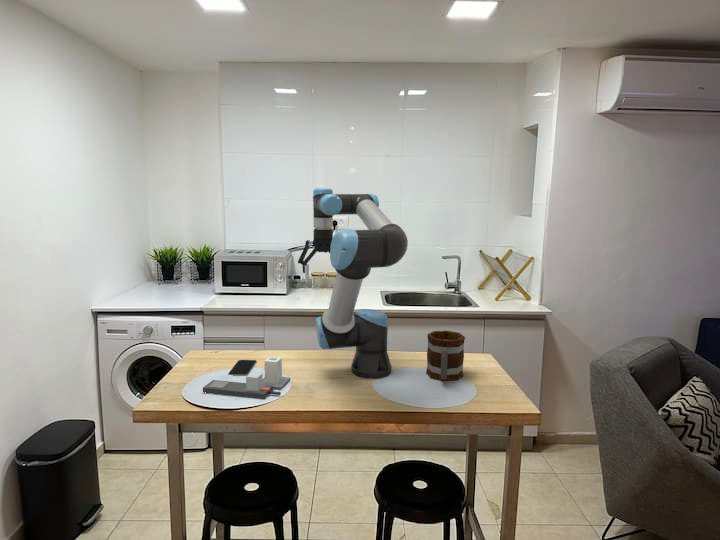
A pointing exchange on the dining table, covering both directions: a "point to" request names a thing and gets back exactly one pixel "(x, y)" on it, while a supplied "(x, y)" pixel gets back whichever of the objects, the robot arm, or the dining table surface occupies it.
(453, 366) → the mug
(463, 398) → the dining table surface
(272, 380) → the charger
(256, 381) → the cube
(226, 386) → the power strip
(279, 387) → the coaster
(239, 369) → the smartphone
